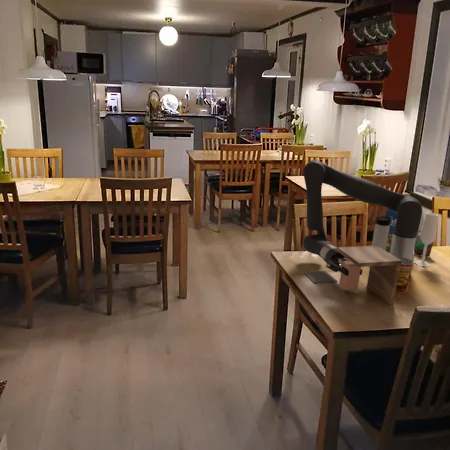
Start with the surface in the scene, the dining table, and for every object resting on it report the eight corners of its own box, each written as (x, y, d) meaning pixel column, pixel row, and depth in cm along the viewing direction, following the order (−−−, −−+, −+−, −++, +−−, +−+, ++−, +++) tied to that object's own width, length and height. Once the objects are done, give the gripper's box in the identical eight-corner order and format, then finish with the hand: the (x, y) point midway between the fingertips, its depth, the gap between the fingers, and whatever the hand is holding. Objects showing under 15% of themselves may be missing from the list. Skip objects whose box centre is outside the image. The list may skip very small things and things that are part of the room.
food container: (406, 248, 227) (410, 229, 224) (418, 248, 228) (422, 229, 225) (418, 257, 216) (422, 237, 213) (430, 258, 216) (435, 238, 213)
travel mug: (386, 260, 209) (393, 219, 203) (372, 259, 209) (379, 218, 203) (382, 255, 215) (389, 215, 209) (368, 254, 215) (375, 214, 209)
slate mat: (325, 271, 193) (325, 270, 193) (336, 281, 184) (337, 280, 183) (303, 273, 190) (303, 272, 190) (314, 283, 181) (314, 282, 181)
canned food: (387, 290, 178) (392, 262, 175) (386, 282, 186) (391, 255, 182) (408, 294, 177) (414, 265, 173) (406, 285, 184) (411, 258, 180)
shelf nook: (369, 286, 181) (376, 245, 176) (393, 304, 167) (401, 260, 162) (331, 289, 177) (337, 247, 171) (352, 308, 162) (359, 263, 157)
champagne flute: (412, 264, 207) (422, 214, 200) (415, 260, 212) (425, 211, 205) (428, 268, 203) (439, 217, 196) (431, 263, 209) (441, 214, 201)
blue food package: (384, 247, 227) (392, 198, 220) (408, 253, 220) (417, 204, 212) (379, 250, 223) (387, 200, 215) (403, 257, 215) (412, 206, 208)
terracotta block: (350, 283, 178) (354, 260, 175) (357, 289, 174) (361, 265, 170) (339, 284, 177) (342, 261, 174) (345, 290, 172) (349, 266, 169)
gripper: (318, 248, 183) (338, 265, 167) (349, 246, 187) (372, 263, 171) (316, 265, 185) (336, 283, 170) (347, 263, 189) (369, 281, 174)
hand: (354, 273), depth 171 cm, fingers closed on terracotta block, 5 cm apart
